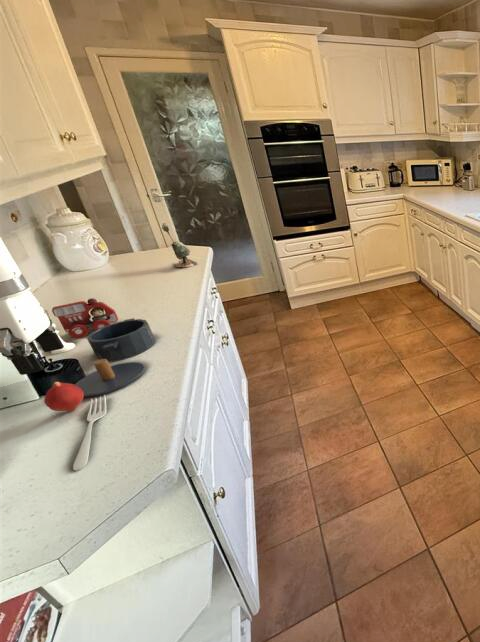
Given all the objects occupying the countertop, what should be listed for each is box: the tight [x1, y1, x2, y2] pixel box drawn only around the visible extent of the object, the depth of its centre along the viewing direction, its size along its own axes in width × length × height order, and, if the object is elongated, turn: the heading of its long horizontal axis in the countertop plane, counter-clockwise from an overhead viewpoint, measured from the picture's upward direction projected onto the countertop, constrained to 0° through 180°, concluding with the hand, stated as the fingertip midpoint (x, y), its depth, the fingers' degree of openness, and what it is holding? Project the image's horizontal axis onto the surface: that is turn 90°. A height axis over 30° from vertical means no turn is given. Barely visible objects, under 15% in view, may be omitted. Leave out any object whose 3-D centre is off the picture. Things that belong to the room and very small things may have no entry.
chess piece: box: [50, 323, 76, 355], centre depth 113 cm, size 5×5×10 cm
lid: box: [74, 359, 146, 398], centre depth 99 cm, size 14×14×6 cm
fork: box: [72, 395, 107, 472], centre depth 83 cm, size 3×24×2 cm, turn 36°
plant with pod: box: [161, 222, 198, 268], centre depth 175 cm, size 8×11×20 cm
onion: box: [44, 381, 85, 412], centre depth 89 cm, size 6×6×8 cm
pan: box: [86, 317, 156, 363], centre depth 113 cm, size 13×18×6 cm
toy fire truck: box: [51, 297, 119, 339], centre depth 123 cm, size 7×12×10 cm, turn 131°
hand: (44, 360), depth 85 cm, fingers open, 9 cm apart
